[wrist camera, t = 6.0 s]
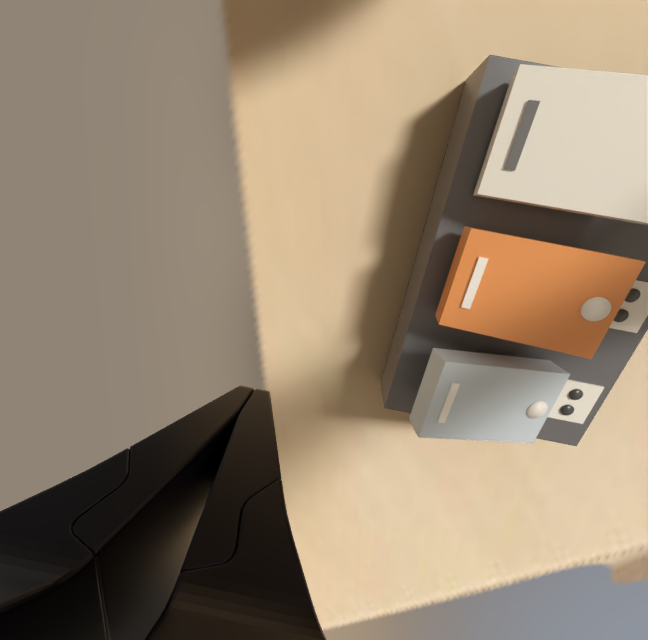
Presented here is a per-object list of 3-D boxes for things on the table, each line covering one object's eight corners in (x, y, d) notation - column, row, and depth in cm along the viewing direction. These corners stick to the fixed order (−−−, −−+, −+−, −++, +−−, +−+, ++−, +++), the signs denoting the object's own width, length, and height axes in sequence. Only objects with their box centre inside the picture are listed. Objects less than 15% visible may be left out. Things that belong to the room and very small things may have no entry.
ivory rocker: (713, 97, 12) (751, 82, 10) (645, 225, 13) (669, 226, 12) (511, 78, 13) (520, 63, 12) (473, 195, 15) (477, 193, 14)
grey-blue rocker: (549, 360, 17) (572, 375, 16) (516, 426, 19) (534, 444, 18) (433, 347, 16) (446, 362, 15) (408, 419, 18) (419, 438, 17)
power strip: (706, 122, 16) (802, 102, 12) (548, 415, 22) (582, 453, 19) (466, 79, 16) (496, 48, 13) (380, 381, 23) (385, 413, 19)
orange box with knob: (622, 256, 14) (647, 262, 13) (575, 346, 16) (592, 360, 15) (464, 226, 15) (471, 228, 14) (435, 315, 17) (439, 324, 15)
